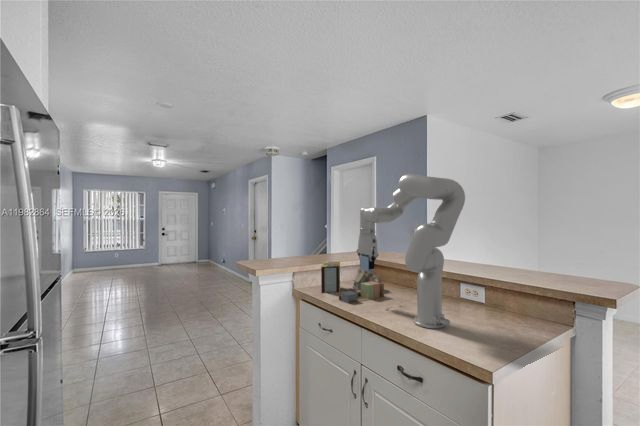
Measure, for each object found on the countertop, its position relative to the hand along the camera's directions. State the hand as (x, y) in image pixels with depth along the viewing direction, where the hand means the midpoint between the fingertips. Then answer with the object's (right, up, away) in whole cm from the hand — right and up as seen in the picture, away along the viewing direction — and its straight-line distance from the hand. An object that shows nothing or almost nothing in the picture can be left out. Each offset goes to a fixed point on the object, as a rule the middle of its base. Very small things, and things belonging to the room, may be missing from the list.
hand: (366, 267), depth 154 cm
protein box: (-17, -18, +27) cm, 37 cm away
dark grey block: (-9, -17, +1) cm, 19 cm away
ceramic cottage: (+4, -18, +25) cm, 31 cm away
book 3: (+5, -17, +11) cm, 21 cm away
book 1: (0, -1, 0) cm, 1 cm away
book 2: (+1, -17, +8) cm, 19 cm away
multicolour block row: (-2, -18, +6) cm, 19 cm away
